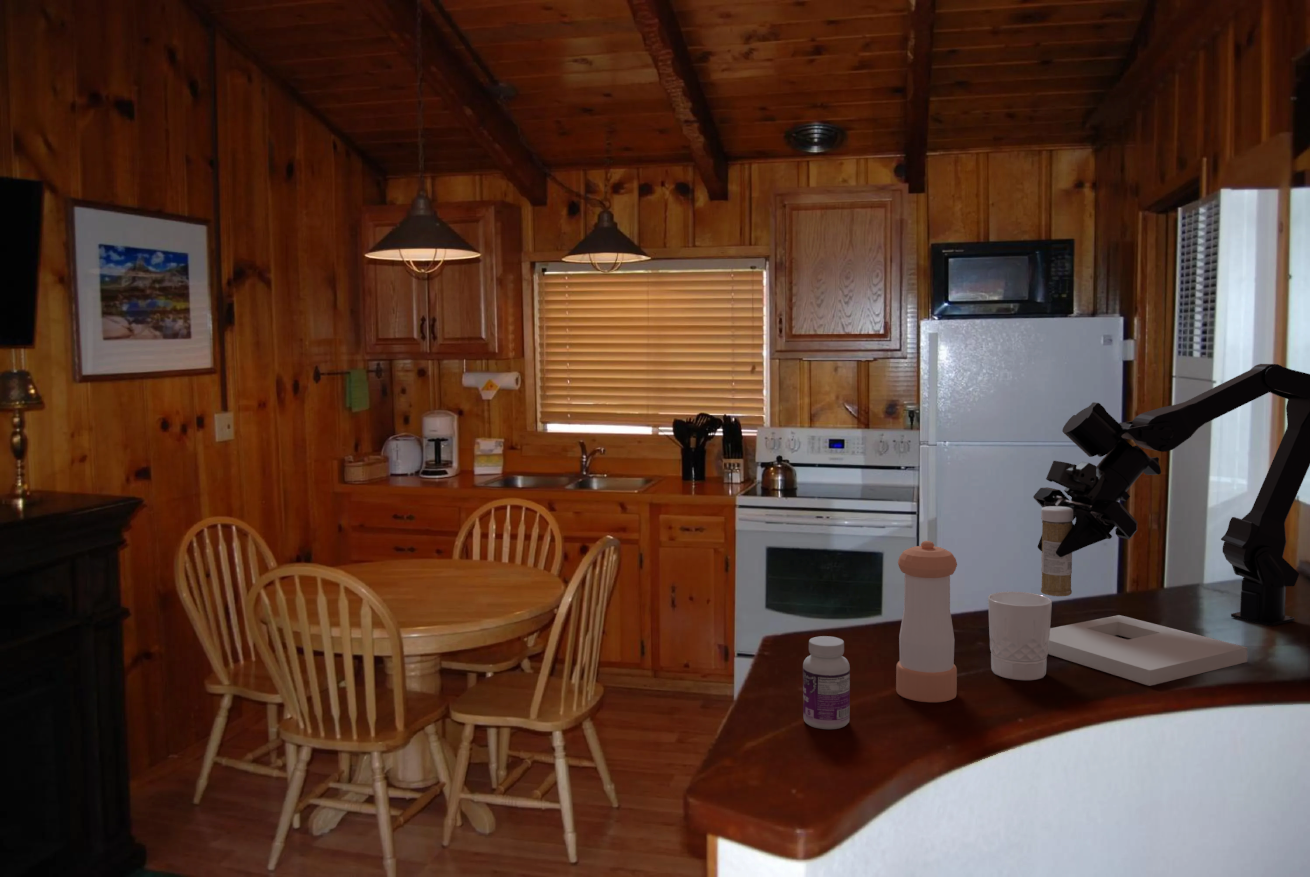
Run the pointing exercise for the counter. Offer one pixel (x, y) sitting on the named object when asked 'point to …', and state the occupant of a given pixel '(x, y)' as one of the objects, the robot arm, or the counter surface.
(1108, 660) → the block
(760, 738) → the counter surface
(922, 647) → the pepper shaker
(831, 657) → the pill bottle
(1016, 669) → the white cup
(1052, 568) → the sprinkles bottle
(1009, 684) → the counter surface
